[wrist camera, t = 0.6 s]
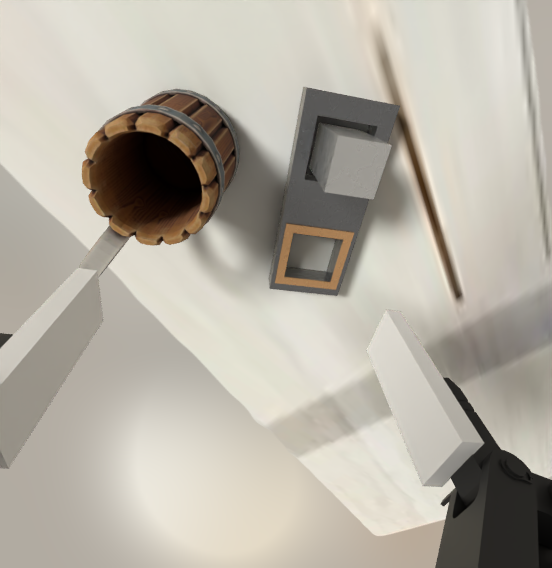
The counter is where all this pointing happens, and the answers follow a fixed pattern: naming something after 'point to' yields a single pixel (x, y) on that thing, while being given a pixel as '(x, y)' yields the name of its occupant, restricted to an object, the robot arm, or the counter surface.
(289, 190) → the rail plate
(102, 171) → the mug
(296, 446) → the counter surface
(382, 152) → the steel peg
